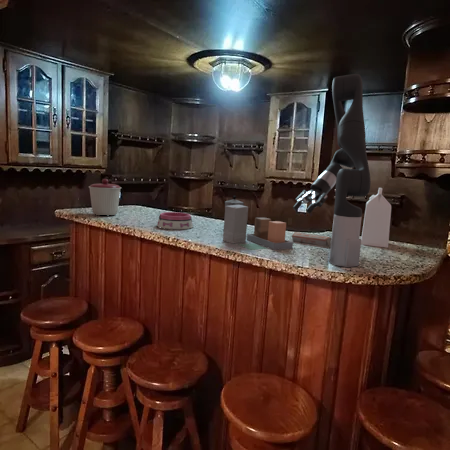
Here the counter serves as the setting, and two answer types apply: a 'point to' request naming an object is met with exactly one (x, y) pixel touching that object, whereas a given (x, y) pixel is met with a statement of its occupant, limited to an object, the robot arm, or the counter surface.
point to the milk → (376, 221)
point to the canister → (104, 198)
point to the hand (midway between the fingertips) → (300, 210)
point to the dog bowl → (175, 221)
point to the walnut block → (261, 228)
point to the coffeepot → (233, 203)
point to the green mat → (252, 246)
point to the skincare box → (235, 223)
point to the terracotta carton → (276, 231)
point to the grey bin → (270, 243)
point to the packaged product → (311, 240)
